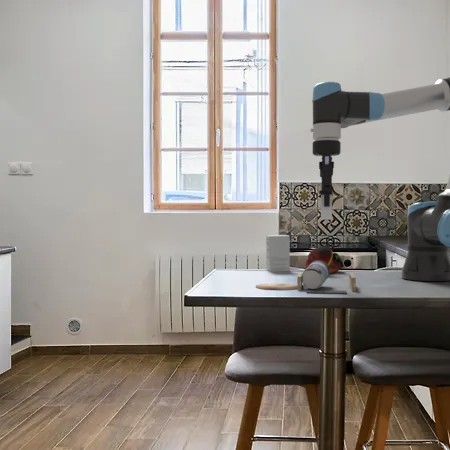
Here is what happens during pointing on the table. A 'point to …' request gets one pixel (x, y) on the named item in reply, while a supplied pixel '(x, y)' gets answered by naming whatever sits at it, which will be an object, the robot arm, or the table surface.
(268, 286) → the coaster
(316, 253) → the dark red rounded pieces
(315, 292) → the pad
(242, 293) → the table surface
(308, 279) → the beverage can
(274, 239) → the supplement box
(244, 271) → the table surface
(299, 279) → the channel
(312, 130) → the robot arm
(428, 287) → the table surface
